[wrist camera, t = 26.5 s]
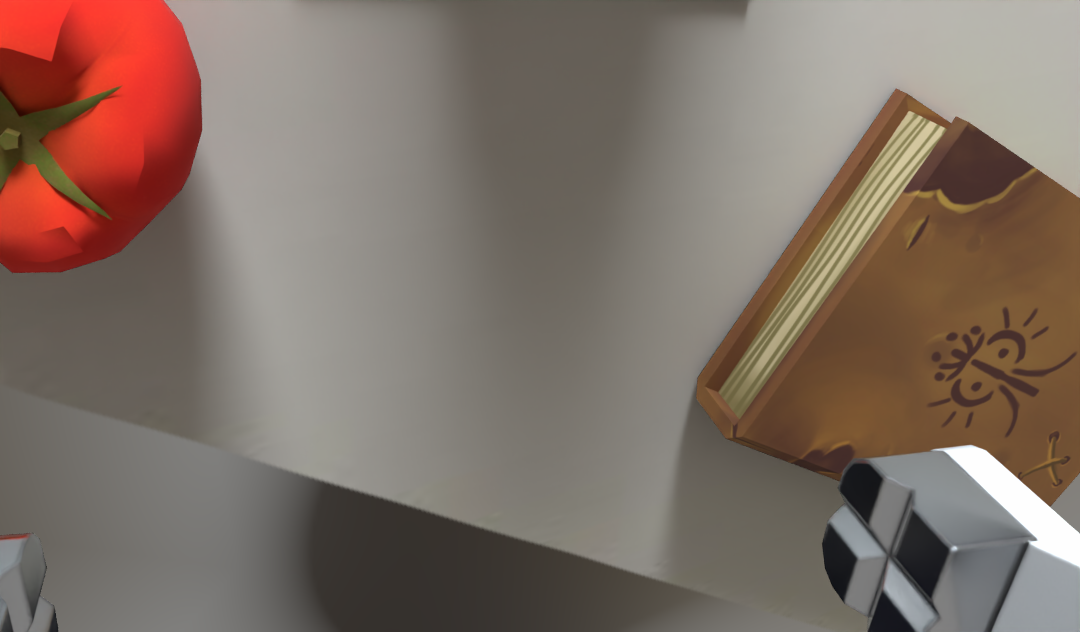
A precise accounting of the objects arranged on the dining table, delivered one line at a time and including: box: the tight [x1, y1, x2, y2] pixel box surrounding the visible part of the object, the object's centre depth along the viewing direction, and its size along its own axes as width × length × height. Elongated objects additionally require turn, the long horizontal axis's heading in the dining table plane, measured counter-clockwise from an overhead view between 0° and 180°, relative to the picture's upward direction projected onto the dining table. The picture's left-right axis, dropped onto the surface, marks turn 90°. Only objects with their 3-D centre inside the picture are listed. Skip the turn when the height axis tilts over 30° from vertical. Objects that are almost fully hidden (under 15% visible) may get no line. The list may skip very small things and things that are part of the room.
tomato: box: [0, 0, 202, 273], centre depth 33 cm, size 11×12×9 cm
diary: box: [696, 89, 1080, 507], centre depth 52 cm, size 23×19×6 cm
